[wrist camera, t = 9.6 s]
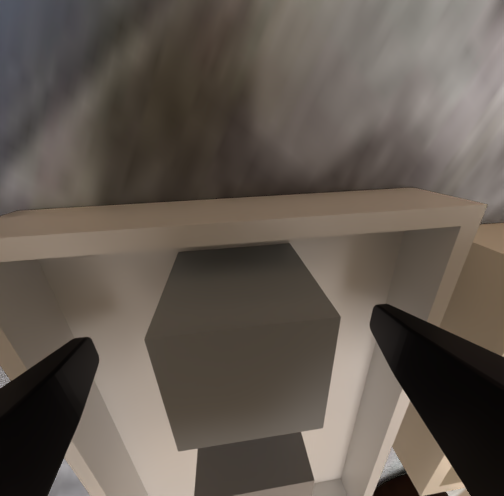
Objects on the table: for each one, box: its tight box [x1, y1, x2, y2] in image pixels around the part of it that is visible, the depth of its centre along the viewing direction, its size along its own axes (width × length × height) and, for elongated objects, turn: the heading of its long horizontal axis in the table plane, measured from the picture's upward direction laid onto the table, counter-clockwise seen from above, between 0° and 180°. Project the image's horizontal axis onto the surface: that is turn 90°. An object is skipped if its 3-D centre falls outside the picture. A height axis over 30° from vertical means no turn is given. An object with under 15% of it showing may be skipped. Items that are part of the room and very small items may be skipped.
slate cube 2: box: [144, 243, 341, 452], centre depth 7 cm, size 4×4×4 cm
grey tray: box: [0, 187, 488, 496], centre depth 11 cm, size 14×21×3 cm
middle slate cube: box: [194, 432, 315, 496], centre depth 10 cm, size 4×4×4 cm
